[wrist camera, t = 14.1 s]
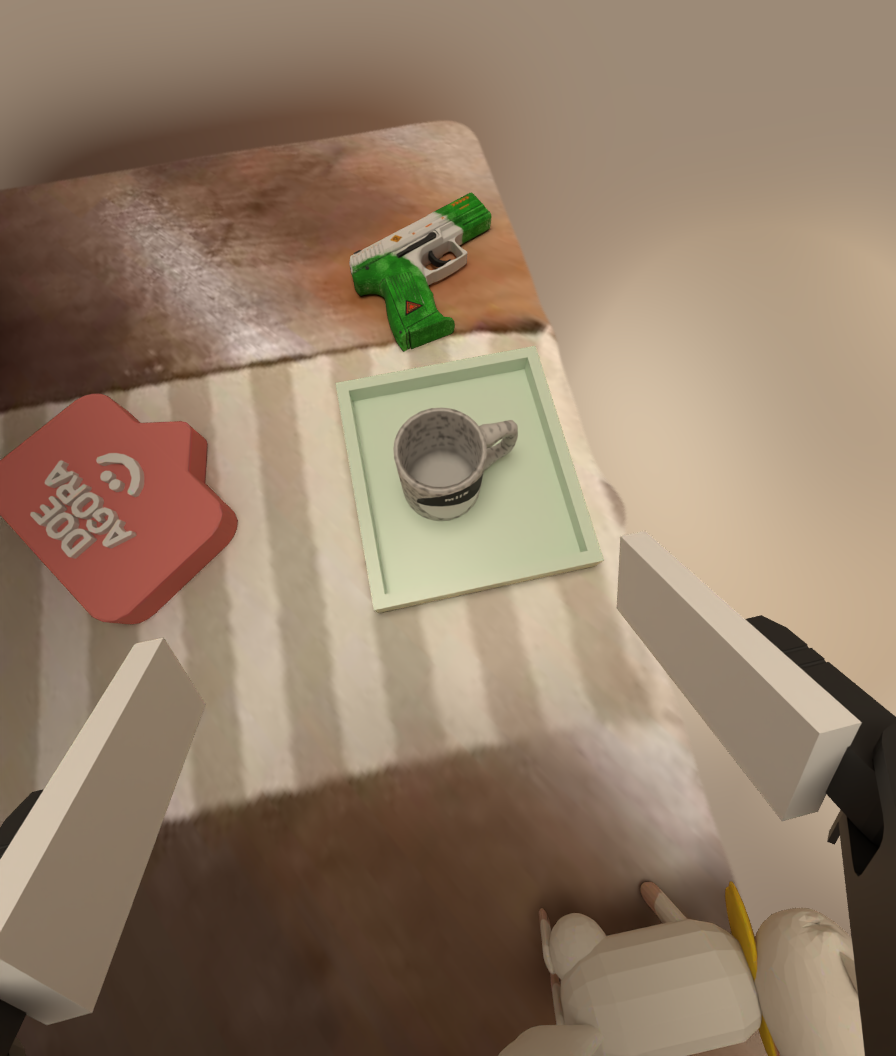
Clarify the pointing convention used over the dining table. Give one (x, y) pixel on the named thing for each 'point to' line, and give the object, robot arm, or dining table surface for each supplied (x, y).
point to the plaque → (115, 507)
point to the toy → (698, 985)
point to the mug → (447, 460)
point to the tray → (505, 495)
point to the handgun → (419, 268)
